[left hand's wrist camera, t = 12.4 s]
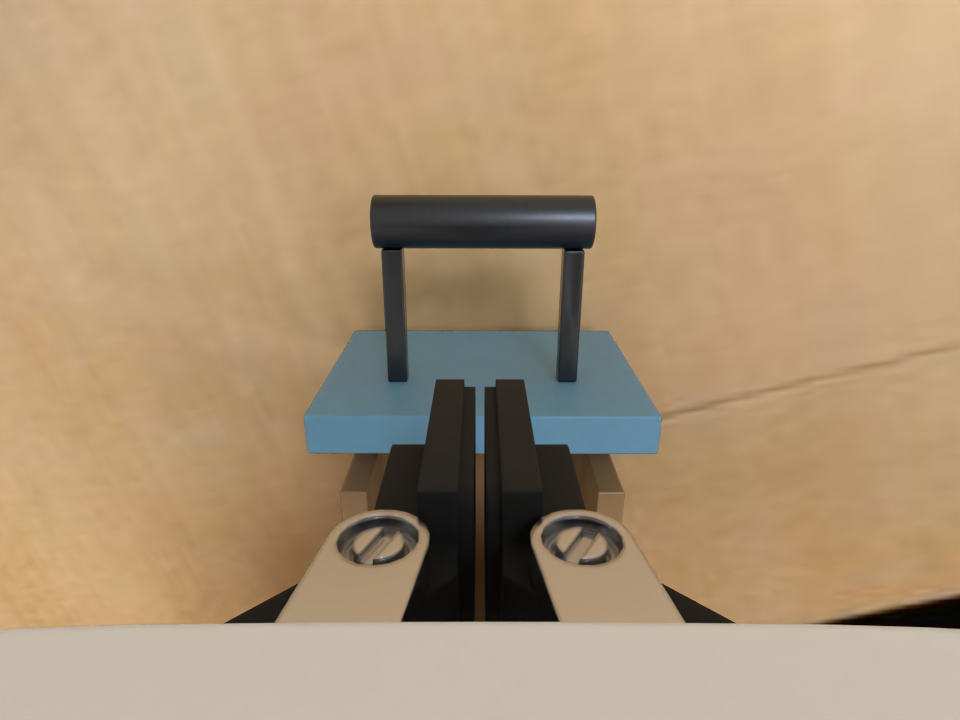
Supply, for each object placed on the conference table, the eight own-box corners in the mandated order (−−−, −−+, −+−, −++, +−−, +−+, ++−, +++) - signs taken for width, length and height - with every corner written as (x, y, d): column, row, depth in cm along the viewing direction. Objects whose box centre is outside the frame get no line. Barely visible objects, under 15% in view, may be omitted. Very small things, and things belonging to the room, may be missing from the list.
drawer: (344, 180, 23) (280, 206, 16) (620, 181, 23) (686, 207, 16) (376, 649, 30) (344, 815, 23) (584, 649, 30) (617, 815, 23)
